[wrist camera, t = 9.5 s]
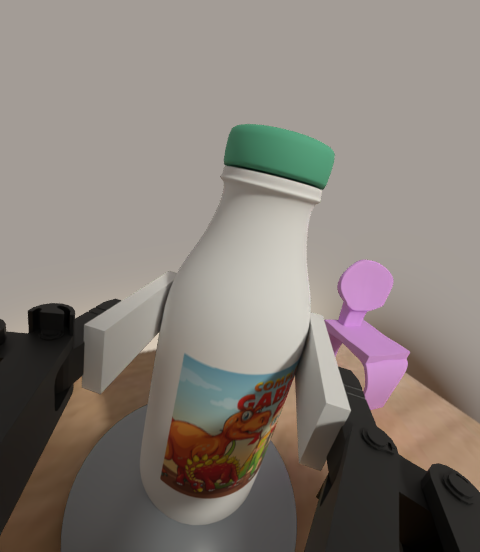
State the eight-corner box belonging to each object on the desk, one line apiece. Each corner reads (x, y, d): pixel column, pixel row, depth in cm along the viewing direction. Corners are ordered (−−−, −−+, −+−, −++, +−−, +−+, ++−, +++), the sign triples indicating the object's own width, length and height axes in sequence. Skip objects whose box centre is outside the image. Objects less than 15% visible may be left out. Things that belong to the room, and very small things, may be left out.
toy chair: (339, 422, 25) (406, 286, 20) (290, 362, 33) (331, 251, 28) (392, 409, 29) (460, 290, 24) (338, 357, 36) (381, 258, 31)
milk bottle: (108, 487, 15) (149, 86, 8) (179, 396, 22) (231, 141, 15) (231, 564, 13) (406, 131, 6) (264, 438, 20) (365, 170, 14)
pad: (291, 432, 23) (293, 426, 23) (296, 753, 10) (303, 747, 9) (146, 383, 24) (147, 377, 24) (-22, 608, 11) (-24, 599, 11)
